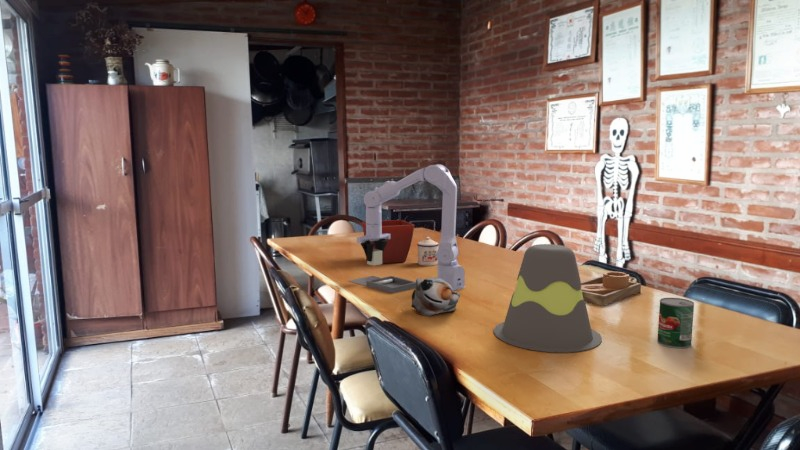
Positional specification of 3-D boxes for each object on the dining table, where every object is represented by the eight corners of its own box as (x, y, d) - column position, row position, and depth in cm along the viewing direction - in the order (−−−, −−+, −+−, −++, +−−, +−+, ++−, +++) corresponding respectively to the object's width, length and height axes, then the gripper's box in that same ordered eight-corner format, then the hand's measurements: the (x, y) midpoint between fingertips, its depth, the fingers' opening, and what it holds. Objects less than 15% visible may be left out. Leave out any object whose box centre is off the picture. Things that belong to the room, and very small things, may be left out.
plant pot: (361, 257, 259) (361, 221, 257) (401, 255, 265) (401, 219, 263) (372, 266, 241) (372, 226, 239) (415, 263, 247) (415, 224, 245)
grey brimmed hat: (523, 313, 172) (525, 235, 169) (617, 332, 155) (621, 245, 151) (474, 337, 151) (475, 247, 148) (576, 362, 133) (580, 261, 130)
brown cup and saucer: (618, 290, 201) (619, 270, 200) (633, 296, 193) (634, 276, 192) (572, 293, 196) (573, 273, 195) (585, 299, 188) (586, 279, 187)
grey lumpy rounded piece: (462, 307, 179) (469, 274, 170) (448, 332, 170) (455, 298, 161) (418, 290, 183) (424, 256, 175) (402, 313, 174) (407, 279, 166)
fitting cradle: (640, 291, 197) (641, 283, 197) (604, 305, 180) (604, 296, 180) (600, 284, 208) (600, 276, 208) (562, 296, 191) (562, 287, 191)
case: (417, 288, 202) (417, 282, 202) (392, 294, 194) (392, 288, 194) (391, 282, 212) (391, 275, 212) (366, 287, 204) (366, 281, 204)
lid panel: (391, 282, 212) (391, 278, 212) (366, 287, 204) (366, 284, 204) (372, 277, 220) (372, 274, 220) (347, 282, 212) (347, 278, 212)
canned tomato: (652, 343, 146) (654, 301, 144) (664, 336, 151) (666, 295, 150) (684, 351, 140) (687, 307, 139) (696, 343, 146) (699, 301, 144)
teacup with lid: (421, 266, 240) (421, 239, 238) (414, 262, 248) (414, 236, 247) (447, 264, 244) (448, 237, 242) (439, 260, 252) (439, 234, 251)
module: (382, 264, 211) (382, 249, 210) (374, 265, 208) (373, 251, 207) (375, 262, 214) (375, 248, 213) (367, 264, 211) (366, 249, 210)
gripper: (381, 221, 217) (382, 256, 219) (351, 224, 207) (351, 261, 209) (394, 222, 212) (394, 258, 213) (363, 226, 202) (364, 264, 204)
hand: (374, 260), depth 211 cm, fingers closed on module, 4 cm apart
